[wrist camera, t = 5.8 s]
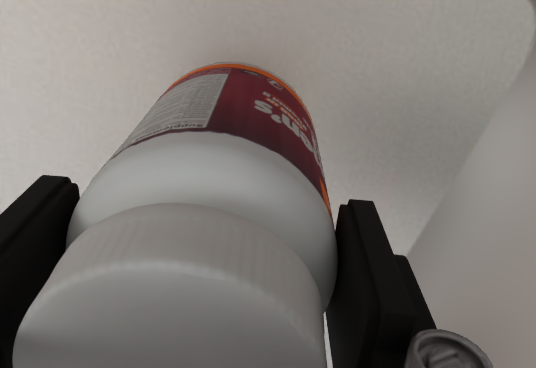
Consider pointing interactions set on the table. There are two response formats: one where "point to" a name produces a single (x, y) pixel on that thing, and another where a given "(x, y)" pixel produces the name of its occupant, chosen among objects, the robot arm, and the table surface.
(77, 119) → the table surface
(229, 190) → the pill bottle
